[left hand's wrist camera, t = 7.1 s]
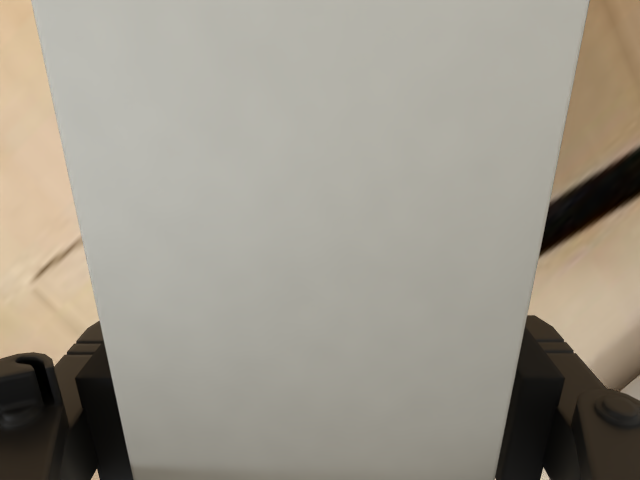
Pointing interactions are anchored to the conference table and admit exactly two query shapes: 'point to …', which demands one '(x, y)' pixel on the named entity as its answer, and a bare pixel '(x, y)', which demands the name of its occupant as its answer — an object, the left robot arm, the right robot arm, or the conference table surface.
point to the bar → (312, 222)
